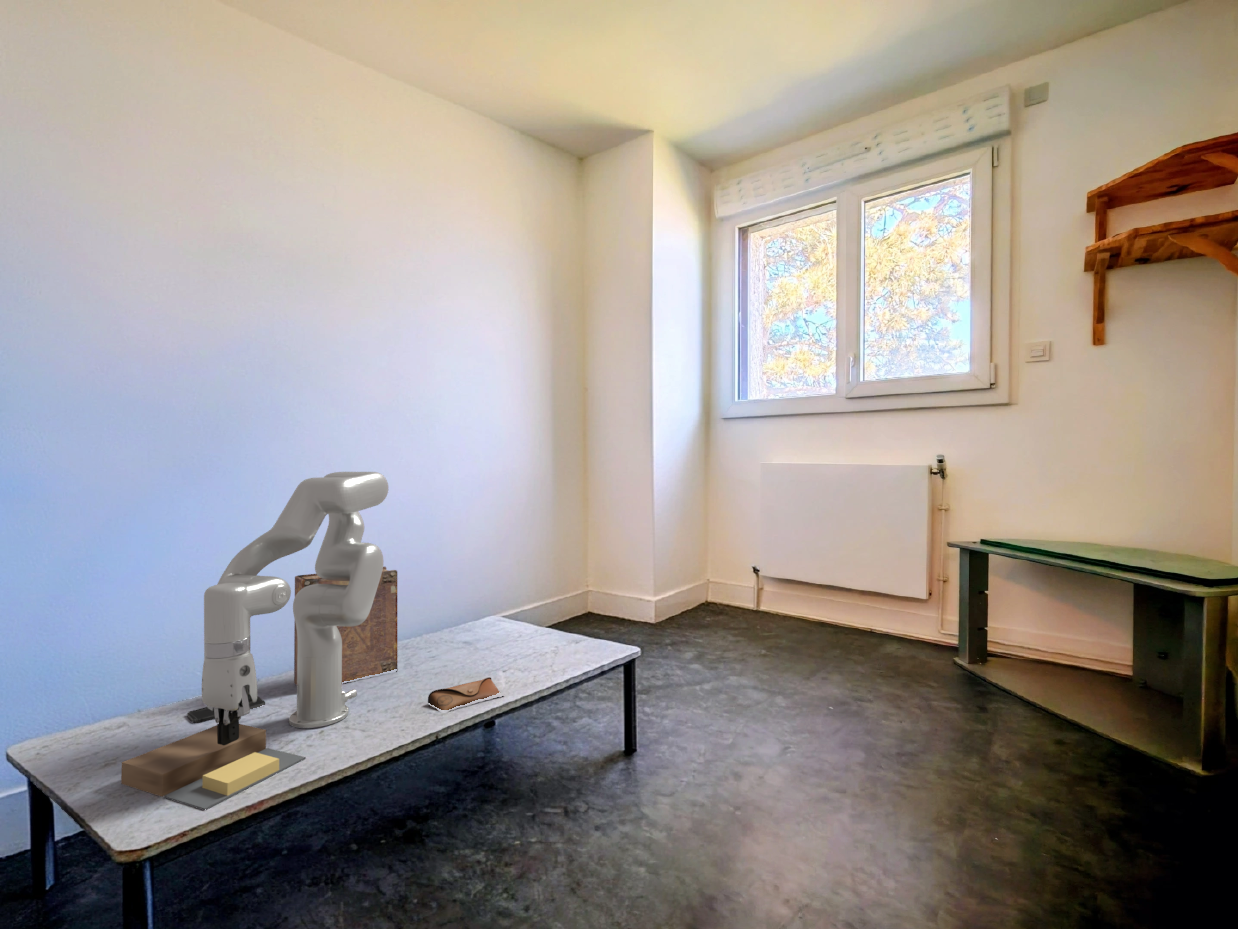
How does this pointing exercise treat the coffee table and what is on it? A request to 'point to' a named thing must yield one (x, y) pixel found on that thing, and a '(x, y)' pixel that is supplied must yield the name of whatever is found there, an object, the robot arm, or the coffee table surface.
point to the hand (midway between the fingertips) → (228, 741)
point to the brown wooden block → (188, 760)
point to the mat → (207, 798)
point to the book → (364, 630)
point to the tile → (240, 773)
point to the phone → (208, 714)
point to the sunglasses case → (462, 694)
